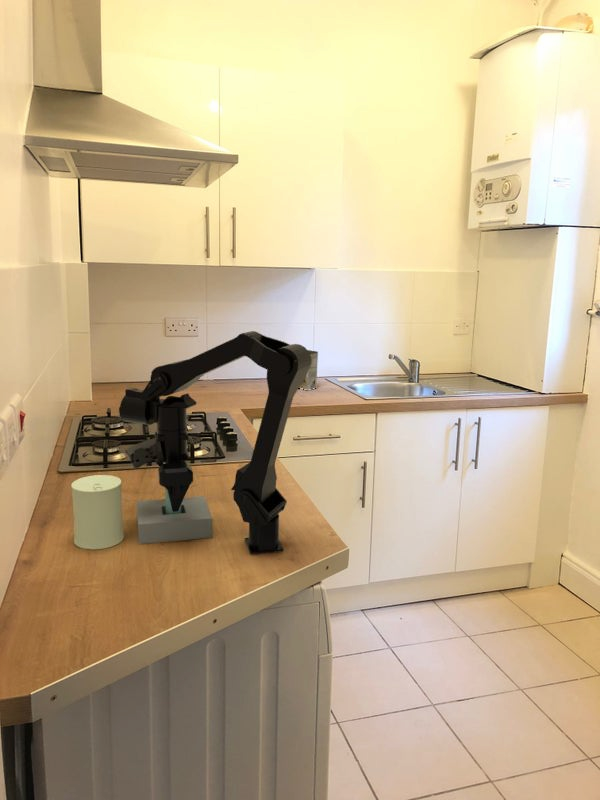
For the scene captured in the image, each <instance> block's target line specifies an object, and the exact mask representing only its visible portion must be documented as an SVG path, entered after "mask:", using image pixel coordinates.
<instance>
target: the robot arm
mask: <svg viewBox="0 0 600 800" xmlns="http://www.w3.org/2000/svg"><path fill="white" fill-rule="evenodd" d="M308 350H309V349H307V348H306V347H305V346H303V345H301V344H298V343H294V344H290V343H288V342H286V341H282V340H279V339H276V338H273V337H269V336H266V335H265V334H262V333H259V332H258V331H253V330H251V331H247V332H243V333H239V334H238V335H237V336H236V337H234V338H232V339H230V340H228V341H225V342H223V343H221V344H219V345H216V346H214V347H212V348H210V349H207V350H206V351H203V352H202V353H200V354H198V355H195V356H193V357H191V358H188V359H182V360H179V361H174V362H171V363H167V364H164V365H159V366H156V367H154V368H153V369H152V371H151V372H150V373H151V374H150V380H149V381H148V383H147V385H146V386H145V388H143V389H139V388H135V387H130V388H126V389H125V390H124V393H125V395H123V398H122V399H121V401H120V406H119V407H118V412H119V416H120V418H121V420H122V421H123V422H126V423H127V422H128V423H133V424H140V425H141V424H142V425H148V426H150V425H153V424H155V422H156V431H155V432H154V437H153V438H151V439H147V440H144V441H142V442H139V443H137V444H134V445H132V446H129V447H128V448H127V451H126V452H127V456H128V457H129V458H128V459H129V460H130V464H131V465H132V467H133V469H138V468H139V469H140V468H141V467H142V466H143V465H145V464H146V465H147V464H148V463H150V462H153V461H155V464H156V466H159V467H158V468H157V471H158V472H157V473H158V474H157V475H158V477H157V478H158V483H159V485H160V486H161V487H163V488H164V489H165V488H166V489H167V490H168V494H169V498H170V503H171V507H172V511H173V512H176V511H178V510H179V508H180V506H181V503H182V501H183V499H184V498H186V494H187V493H188V490H189V489H190V486H191V485H192V483H193V482H194V471H193V468H192V466H191V465H190V464H188V462H186V461H189V454H188V440H189V435H188V430H187V429H188V428H187V427H188V426H187V419H188V418H187V409H189V408H191V407H194V406H197V401H196V400H195V399H193V398H192V397H191V396H190V395H189V393H184V394H181V396H177V395H176V396H175V395H173V394H177V393H179V392H182V391H185V390H187V389H189V387H191V386H192V385H193V384H195V383H197V382H198V381H199V380H200V378H202V377H203V376H204V375H206V374H209V373H210V372H213V371H215V370H217V369H219V368H222V367H224V366H226V365H228V364H230V363H231V364H232V363H234V362H235V361H238V360H240V359H242V358H244V357H246V358H249V360H251V361H252V362H253V363H255V365H257V366H259V367H261V368H263V369H264V370H266V382H267V384H266V385H267V390H268V394H267V398H266V402H265V405H264V409H263V414H262V418H261V420H260V421H261V422H260V425H259V429H258V433H257V437H256V439H255V443H254V447H253V451H252V455H251V459H250V461H249V462H248V463H246V464H245V465H243V466H241V467H240V468H238V469H237V470H236V473H235V479H234V483H233V486H232V487H231V489H230V490H231V491H233V497H232V498H233V501H234V502H235V504H236V506H237V507H238V508H239V513H240V515H241V519H242V521H243V522H244V523H248V537H245V538H244V540H243V542H244V543H245V545H246V547H247V551H248V553H249V554H250V555H258V554H260V555H261V554H269V553H279V552H283V551H284V550H285V549H284V547H283V544H282V542H281V541H280V538H279V537H280V513H281V512H283V511H284V510H285V509H286V505H287V499H286V498H285V496H283V495H282V493H281V492H280V491H279V490H278V489H277V478H278V477H277V472H276V461H277V457H278V453H279V450H280V447H281V443H282V439H283V435H284V431H285V428H286V424H287V423H288V417H289V414H290V411H291V406H292V403H293V399H294V396H295V395H296V393H297V391H298V390H299V389H298V388H299V387H300V385H301V384H302V382H303V381H304V379H305V377H306V375H307V372H308V370H309V368H310V366H311V361H312V359H311V355H310V354H309V352H308ZM162 397H165V398H162Z"/></svg>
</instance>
